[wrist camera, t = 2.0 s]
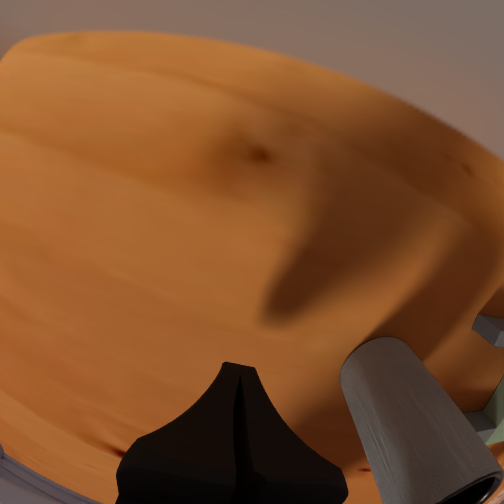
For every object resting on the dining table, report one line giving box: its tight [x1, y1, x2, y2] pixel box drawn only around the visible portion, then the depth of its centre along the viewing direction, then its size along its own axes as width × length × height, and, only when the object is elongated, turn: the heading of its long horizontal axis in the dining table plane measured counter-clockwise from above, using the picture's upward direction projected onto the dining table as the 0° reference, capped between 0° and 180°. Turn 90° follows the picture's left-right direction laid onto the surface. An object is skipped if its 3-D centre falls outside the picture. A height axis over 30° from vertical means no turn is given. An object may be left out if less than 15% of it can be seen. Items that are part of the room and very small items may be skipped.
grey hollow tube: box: [340, 337, 504, 504], centre depth 11 cm, size 4×4×10 cm
